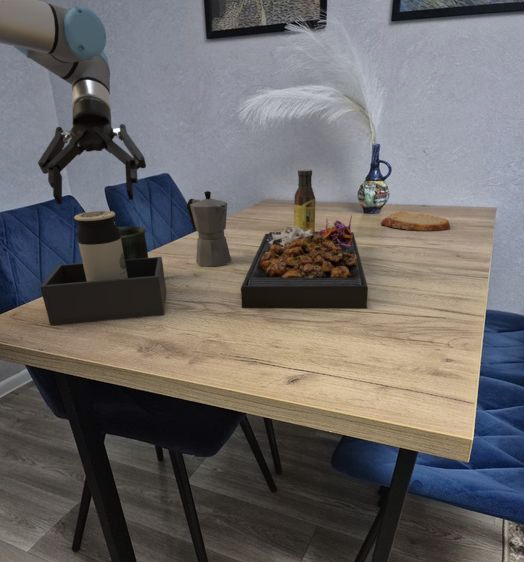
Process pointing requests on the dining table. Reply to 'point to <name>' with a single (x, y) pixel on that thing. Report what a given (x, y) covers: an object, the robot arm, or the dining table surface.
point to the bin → (105, 293)
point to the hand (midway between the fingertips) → (94, 197)
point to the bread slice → (416, 222)
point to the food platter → (306, 270)
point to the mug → (133, 242)
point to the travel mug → (100, 246)
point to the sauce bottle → (304, 202)
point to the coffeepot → (210, 230)
